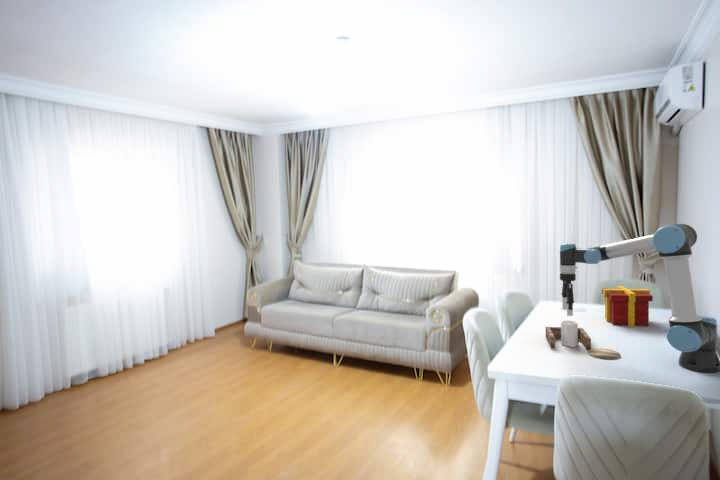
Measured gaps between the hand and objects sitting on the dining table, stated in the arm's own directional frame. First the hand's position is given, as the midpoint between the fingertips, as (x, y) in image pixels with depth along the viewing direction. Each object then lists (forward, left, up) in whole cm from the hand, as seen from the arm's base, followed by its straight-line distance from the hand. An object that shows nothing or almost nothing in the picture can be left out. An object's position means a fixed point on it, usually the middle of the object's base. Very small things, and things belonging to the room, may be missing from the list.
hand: (567, 312), depth 234 cm
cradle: (+3, 0, -17) cm, 18 cm away
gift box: (+54, -42, -18) cm, 71 cm away
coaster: (-13, -14, -18) cm, 26 cm away
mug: (0, 0, -18) cm, 18 cm away
